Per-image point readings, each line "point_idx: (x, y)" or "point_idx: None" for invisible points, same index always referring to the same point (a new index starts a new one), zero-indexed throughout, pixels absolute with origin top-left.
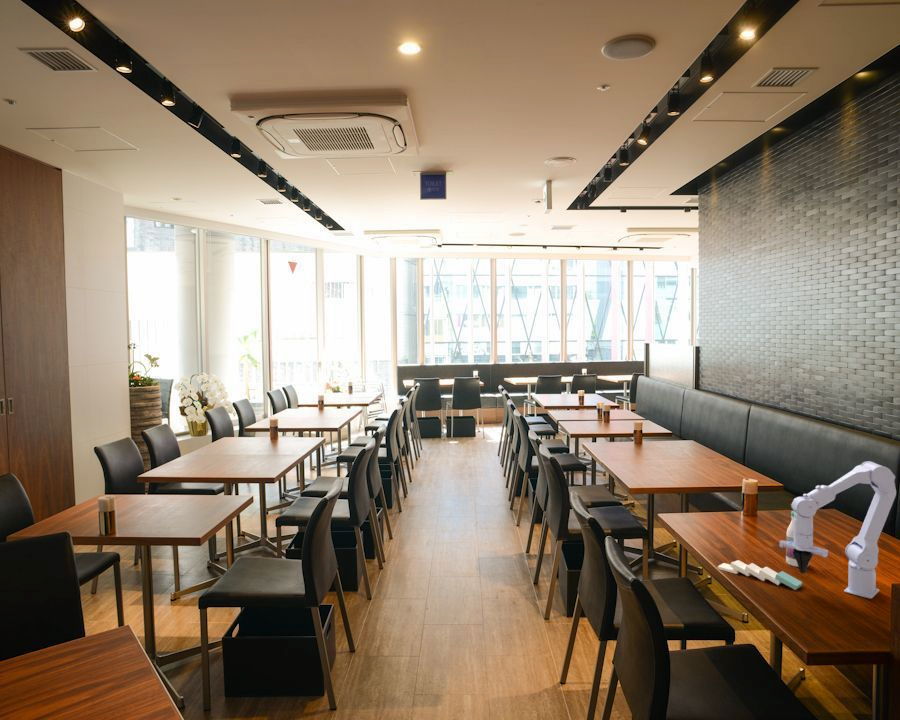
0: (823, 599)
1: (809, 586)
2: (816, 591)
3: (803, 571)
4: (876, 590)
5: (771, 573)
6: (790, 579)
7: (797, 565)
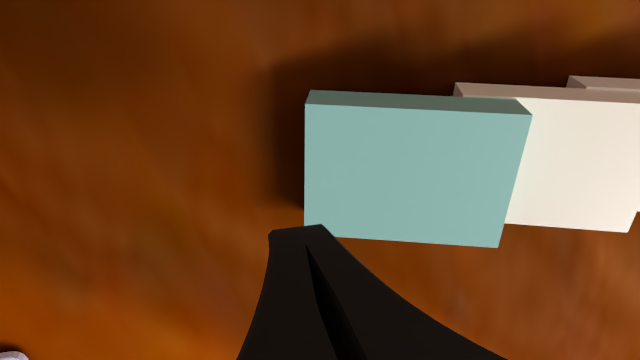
0: (6, 62)
1: (260, 255)
2: (171, 204)
3: (278, 240)
4: None
5: (563, 158)
6: (393, 171)
7: None
